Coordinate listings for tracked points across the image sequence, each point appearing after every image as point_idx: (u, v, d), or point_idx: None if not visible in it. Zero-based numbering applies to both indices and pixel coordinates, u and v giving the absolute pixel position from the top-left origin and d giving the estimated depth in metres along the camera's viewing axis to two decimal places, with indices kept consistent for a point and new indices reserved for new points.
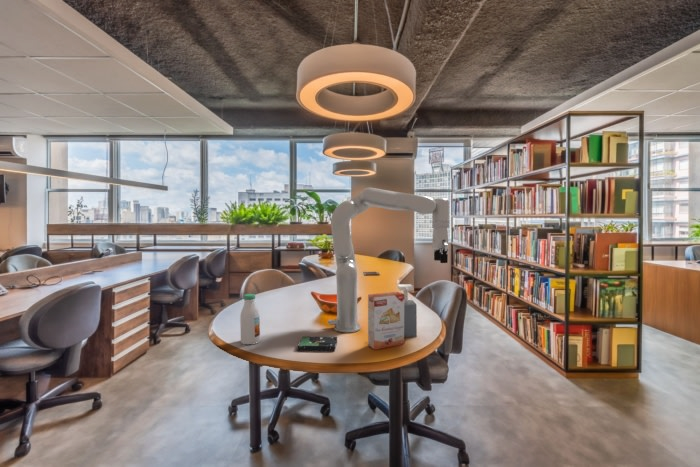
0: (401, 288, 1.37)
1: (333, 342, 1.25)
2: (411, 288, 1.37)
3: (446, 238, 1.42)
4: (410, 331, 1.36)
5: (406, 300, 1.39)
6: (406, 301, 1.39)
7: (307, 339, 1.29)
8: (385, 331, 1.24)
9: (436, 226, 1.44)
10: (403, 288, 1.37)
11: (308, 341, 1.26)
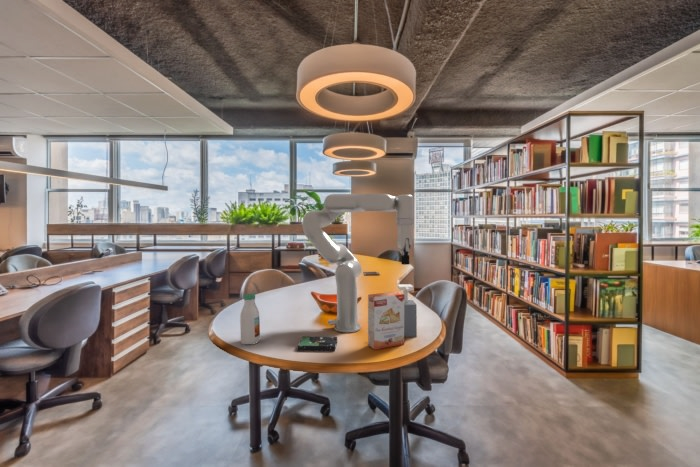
0: (401, 288, 1.37)
1: (333, 342, 1.25)
2: (411, 288, 1.37)
3: (409, 236, 1.34)
4: (410, 331, 1.36)
5: (406, 300, 1.39)
6: (406, 301, 1.39)
7: (307, 338, 1.29)
8: (385, 331, 1.24)
9: (399, 224, 1.36)
10: (403, 288, 1.37)
11: (308, 341, 1.26)
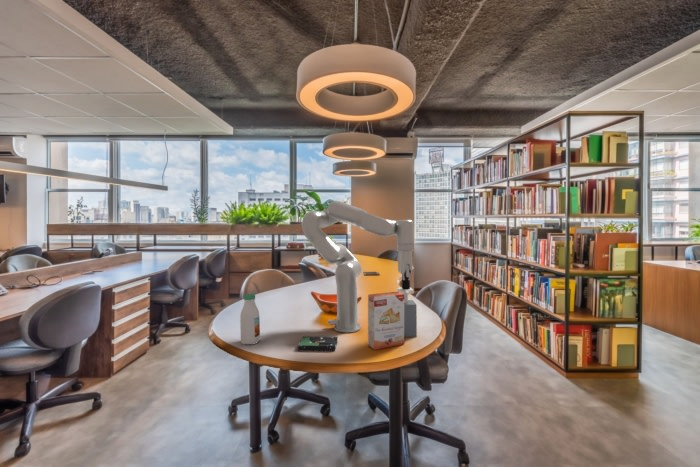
0: (401, 291, 1.37)
1: (333, 342, 1.25)
2: (411, 291, 1.37)
3: (410, 262, 1.34)
4: (410, 331, 1.36)
5: None
6: None
7: (307, 338, 1.30)
8: (385, 331, 1.24)
9: (400, 249, 1.37)
10: (403, 291, 1.37)
11: (308, 341, 1.26)
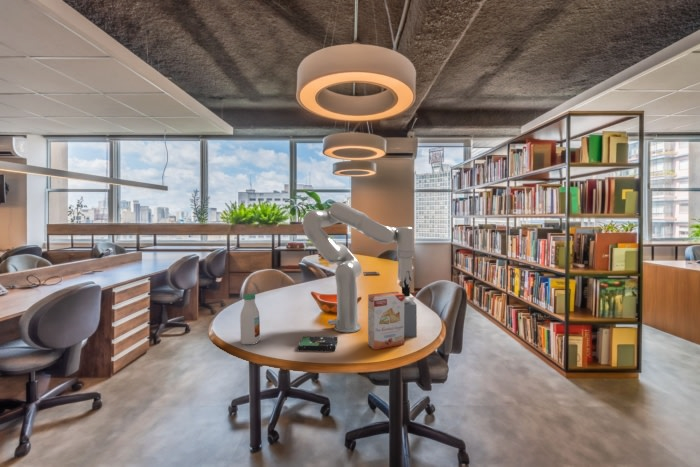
0: None
1: (333, 342, 1.25)
2: (411, 298, 1.37)
3: (410, 269, 1.34)
4: (410, 331, 1.36)
5: None
6: None
7: (307, 338, 1.30)
8: (385, 331, 1.24)
9: (400, 256, 1.37)
10: None
11: (308, 341, 1.26)
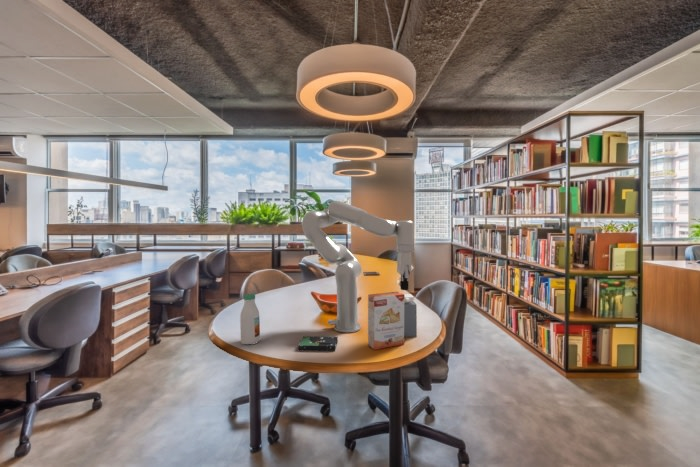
0: None
1: (333, 342, 1.25)
2: (411, 298, 1.37)
3: (409, 263, 1.34)
4: (410, 331, 1.36)
5: None
6: None
7: (307, 338, 1.30)
8: (385, 331, 1.24)
9: (399, 250, 1.37)
10: None
11: (308, 341, 1.26)
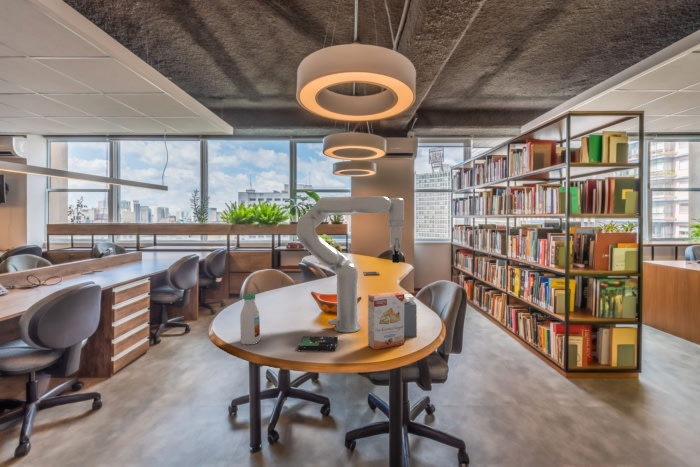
0: None
1: (333, 342, 1.25)
2: (411, 298, 1.37)
3: (399, 237, 1.45)
4: (410, 331, 1.36)
5: None
6: None
7: (307, 338, 1.30)
8: (385, 331, 1.24)
9: (390, 225, 1.47)
10: None
11: (308, 341, 1.26)
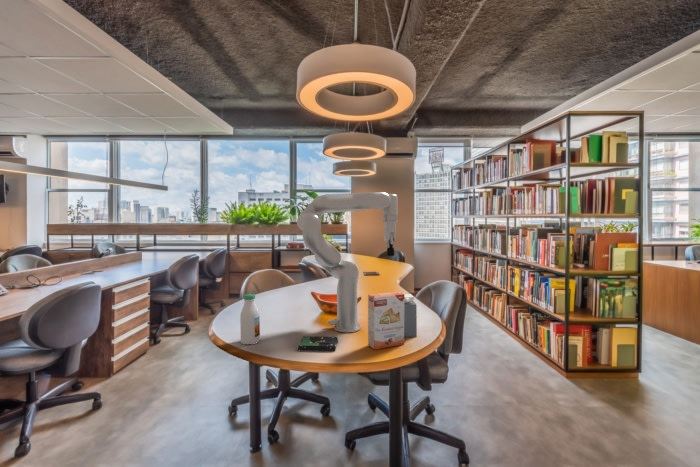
0: None
1: (333, 342, 1.25)
2: (411, 298, 1.37)
3: (394, 231, 1.52)
4: (410, 331, 1.36)
5: None
6: None
7: (307, 338, 1.30)
8: (385, 331, 1.24)
9: (385, 220, 1.54)
10: None
11: (308, 341, 1.26)
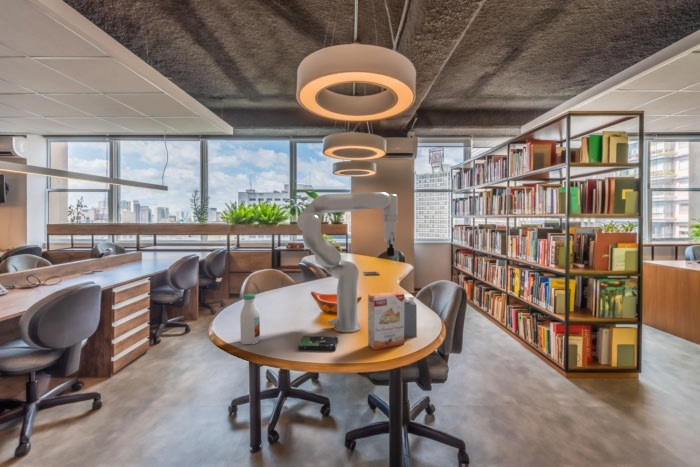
0: None
1: (334, 342, 1.25)
2: (411, 298, 1.37)
3: (394, 231, 1.52)
4: (410, 331, 1.36)
5: None
6: None
7: (307, 338, 1.30)
8: (385, 331, 1.24)
9: (385, 220, 1.54)
10: None
11: (308, 341, 1.26)
